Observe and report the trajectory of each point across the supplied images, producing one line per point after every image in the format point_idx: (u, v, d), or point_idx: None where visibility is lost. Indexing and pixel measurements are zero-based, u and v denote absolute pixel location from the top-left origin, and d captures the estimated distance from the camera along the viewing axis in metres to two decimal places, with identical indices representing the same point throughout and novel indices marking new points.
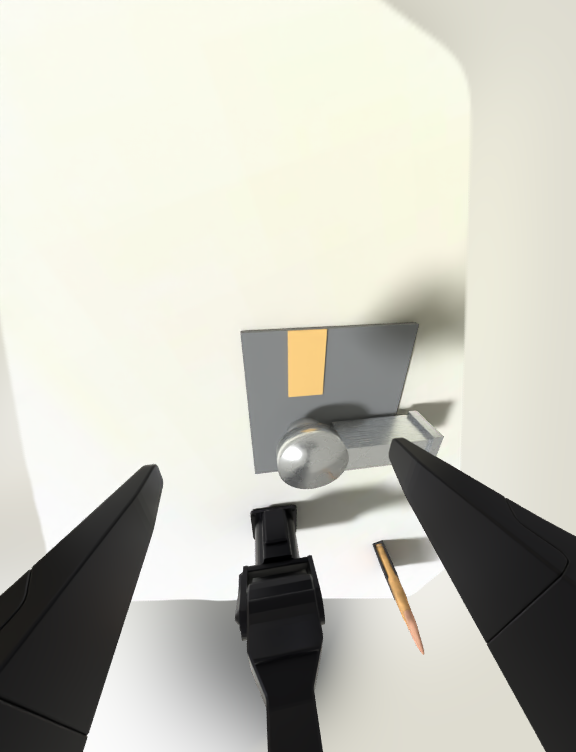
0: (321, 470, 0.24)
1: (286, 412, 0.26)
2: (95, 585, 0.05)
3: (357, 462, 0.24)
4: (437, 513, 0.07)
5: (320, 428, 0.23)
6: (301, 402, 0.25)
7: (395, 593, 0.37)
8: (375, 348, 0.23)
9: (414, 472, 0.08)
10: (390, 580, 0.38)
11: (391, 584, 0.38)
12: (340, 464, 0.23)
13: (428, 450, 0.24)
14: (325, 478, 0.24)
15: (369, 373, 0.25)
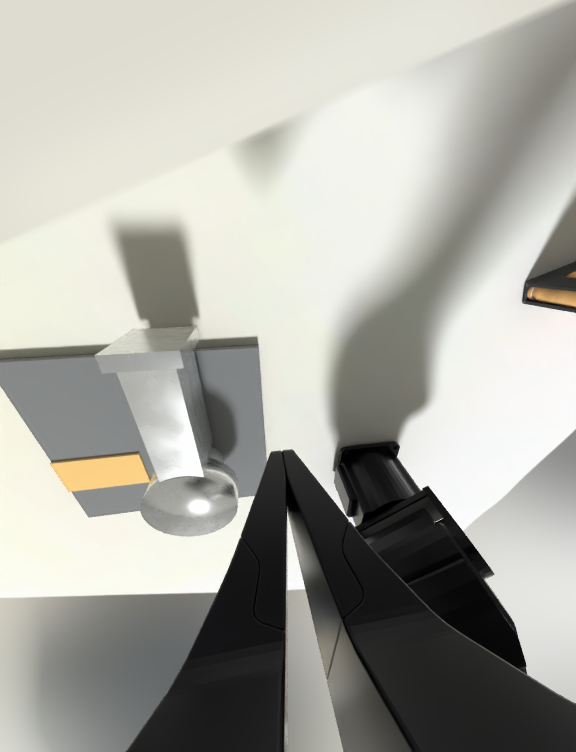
0: (201, 501, 0.18)
1: None
2: None
3: (185, 466, 0.16)
4: (298, 534, 0.07)
5: None
6: None
7: None
8: (51, 410, 0.18)
9: (287, 488, 0.08)
10: None
11: None
12: (189, 485, 0.17)
13: (141, 369, 0.12)
14: (218, 494, 0.18)
15: (92, 408, 0.18)
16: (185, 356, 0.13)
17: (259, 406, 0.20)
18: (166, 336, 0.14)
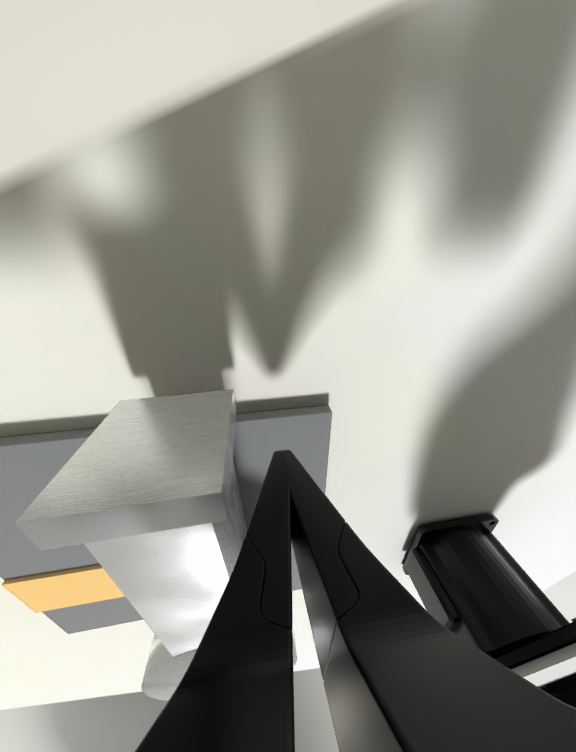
0: None
1: None
2: None
3: None
4: (295, 535, 0.07)
5: None
6: None
7: None
8: None
9: None
10: None
11: None
12: None
13: None
14: None
15: None
16: (228, 484, 0.06)
17: (321, 489, 0.13)
18: (183, 426, 0.07)
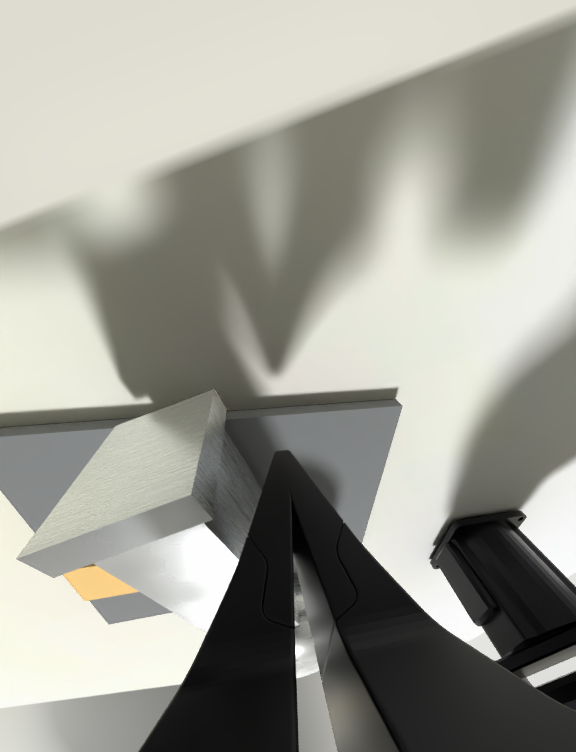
0: (304, 648, 0.11)
1: None
2: None
3: None
4: (294, 535, 0.07)
5: None
6: None
7: None
8: None
9: None
10: None
11: None
12: None
13: None
14: None
15: None
16: (209, 484, 0.06)
17: (376, 482, 0.14)
18: (165, 436, 0.07)
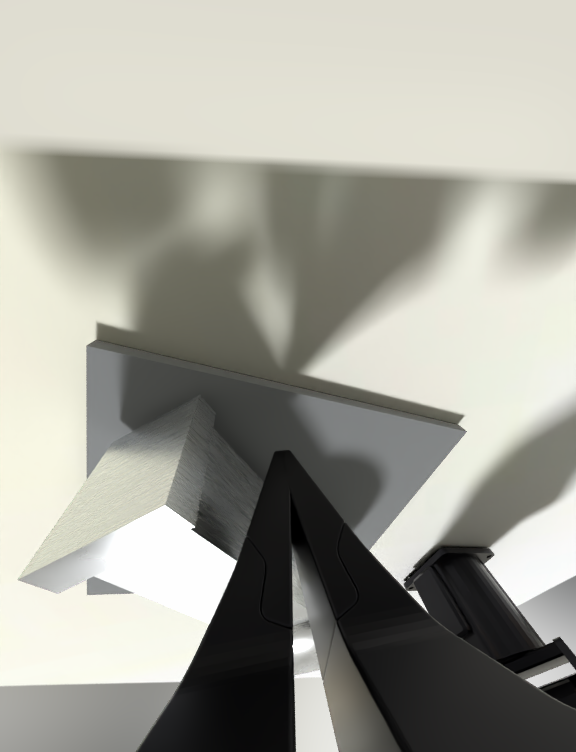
0: None
1: None
2: None
3: None
4: (294, 535, 0.07)
5: None
6: None
7: None
8: None
9: None
10: None
11: None
12: (302, 633, 0.10)
13: None
14: None
15: None
16: (190, 491, 0.06)
17: (411, 495, 0.15)
18: (151, 448, 0.07)
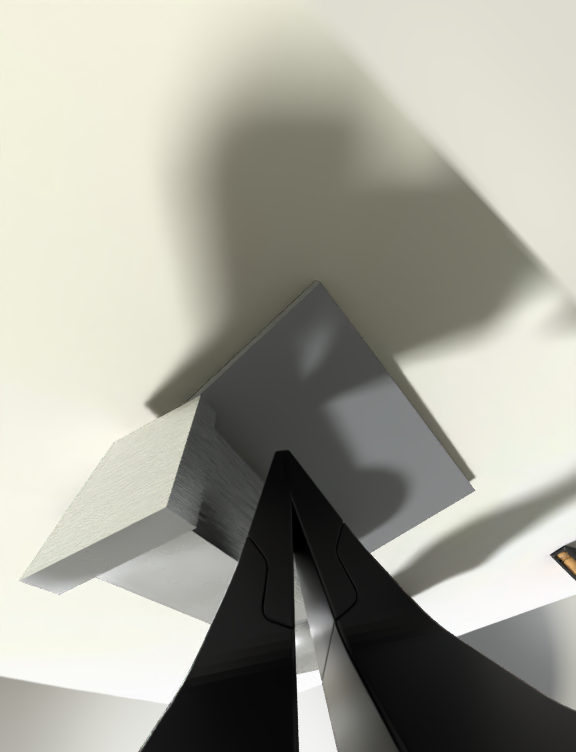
0: None
1: None
2: None
3: None
4: (293, 535, 0.07)
5: None
6: None
7: None
8: (277, 392, 0.10)
9: None
10: None
11: None
12: (302, 633, 0.10)
13: None
14: None
15: (314, 429, 0.11)
16: (191, 492, 0.06)
17: (407, 529, 0.17)
18: (152, 449, 0.07)
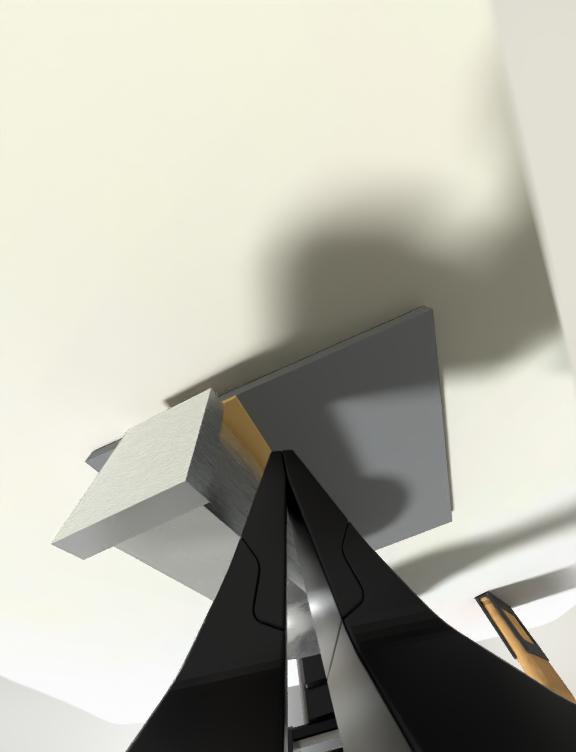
0: None
1: None
2: (286, 554, 0.06)
3: None
4: (298, 534, 0.07)
5: None
6: None
7: None
8: (355, 387, 0.11)
9: (287, 488, 0.08)
10: (521, 662, 0.25)
11: (525, 669, 0.25)
12: (298, 615, 0.11)
13: None
14: None
15: (365, 429, 0.13)
16: (205, 472, 0.07)
17: (387, 544, 0.19)
18: (168, 434, 0.08)
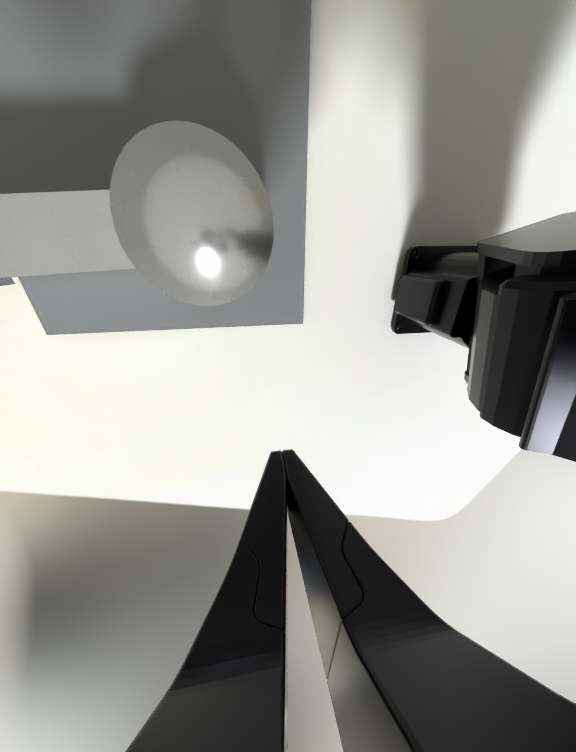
0: (173, 202, 0.10)
1: None
2: None
3: (88, 220, 0.10)
4: (298, 534, 0.07)
5: None
6: None
7: None
8: None
9: (287, 488, 0.08)
10: None
11: None
12: (130, 219, 0.10)
13: None
14: (150, 163, 0.10)
15: (34, 63, 0.11)
16: None
17: (303, 115, 0.13)
18: None
